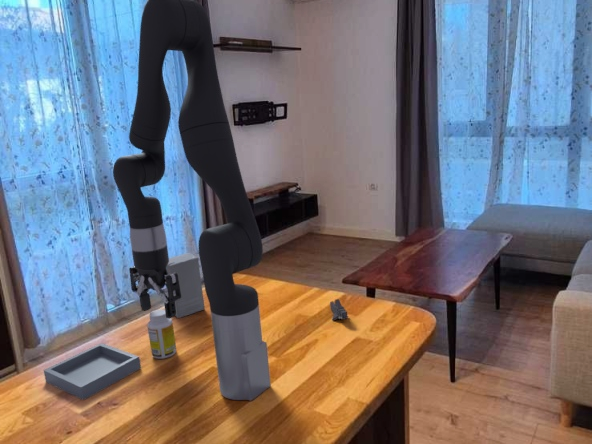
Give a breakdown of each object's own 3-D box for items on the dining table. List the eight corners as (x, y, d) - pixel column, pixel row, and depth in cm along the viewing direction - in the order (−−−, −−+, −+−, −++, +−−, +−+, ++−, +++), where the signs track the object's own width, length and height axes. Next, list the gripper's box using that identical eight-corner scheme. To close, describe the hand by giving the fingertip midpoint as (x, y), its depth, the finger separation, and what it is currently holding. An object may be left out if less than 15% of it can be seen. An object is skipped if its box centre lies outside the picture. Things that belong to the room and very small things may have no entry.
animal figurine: (324, 315, 136) (322, 296, 136) (340, 312, 137) (338, 294, 136) (337, 325, 124) (335, 305, 124) (355, 322, 125) (352, 302, 125)
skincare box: (196, 303, 147) (189, 251, 143) (206, 311, 141) (199, 256, 138) (168, 312, 142) (160, 257, 139) (177, 320, 137) (169, 263, 133)
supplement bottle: (178, 347, 121) (172, 306, 119) (175, 358, 116) (169, 316, 113) (154, 349, 121) (148, 309, 118) (150, 361, 115) (143, 319, 113)
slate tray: (141, 368, 112) (139, 356, 112) (83, 400, 101) (80, 387, 101) (103, 353, 120) (101, 342, 120) (45, 382, 109) (43, 370, 109)
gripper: (184, 244, 111) (192, 313, 115) (142, 237, 119) (151, 301, 123) (156, 254, 105) (166, 326, 109) (114, 245, 113) (125, 313, 117)
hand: (158, 313), depth 116 cm, fingers open, 8 cm apart
